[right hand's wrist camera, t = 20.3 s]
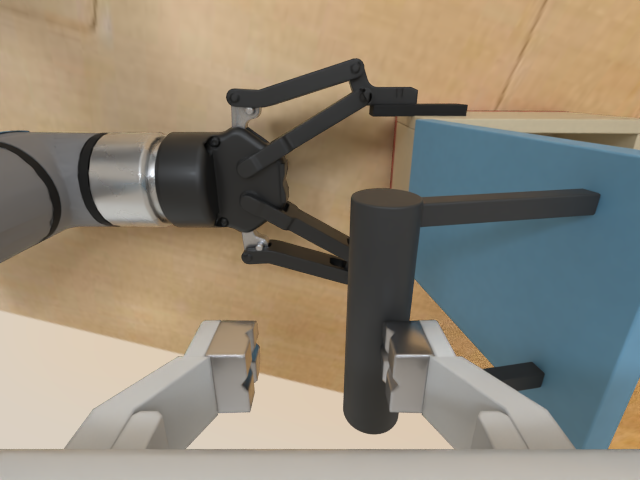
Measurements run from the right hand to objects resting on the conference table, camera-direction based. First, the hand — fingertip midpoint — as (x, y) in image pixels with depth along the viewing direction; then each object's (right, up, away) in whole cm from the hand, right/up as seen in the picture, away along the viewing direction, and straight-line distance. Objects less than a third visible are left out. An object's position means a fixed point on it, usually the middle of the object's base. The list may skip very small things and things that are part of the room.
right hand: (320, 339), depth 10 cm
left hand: (+10, +7, +18) cm, 22 cm away
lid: (+9, +3, +7) cm, 11 cm away
